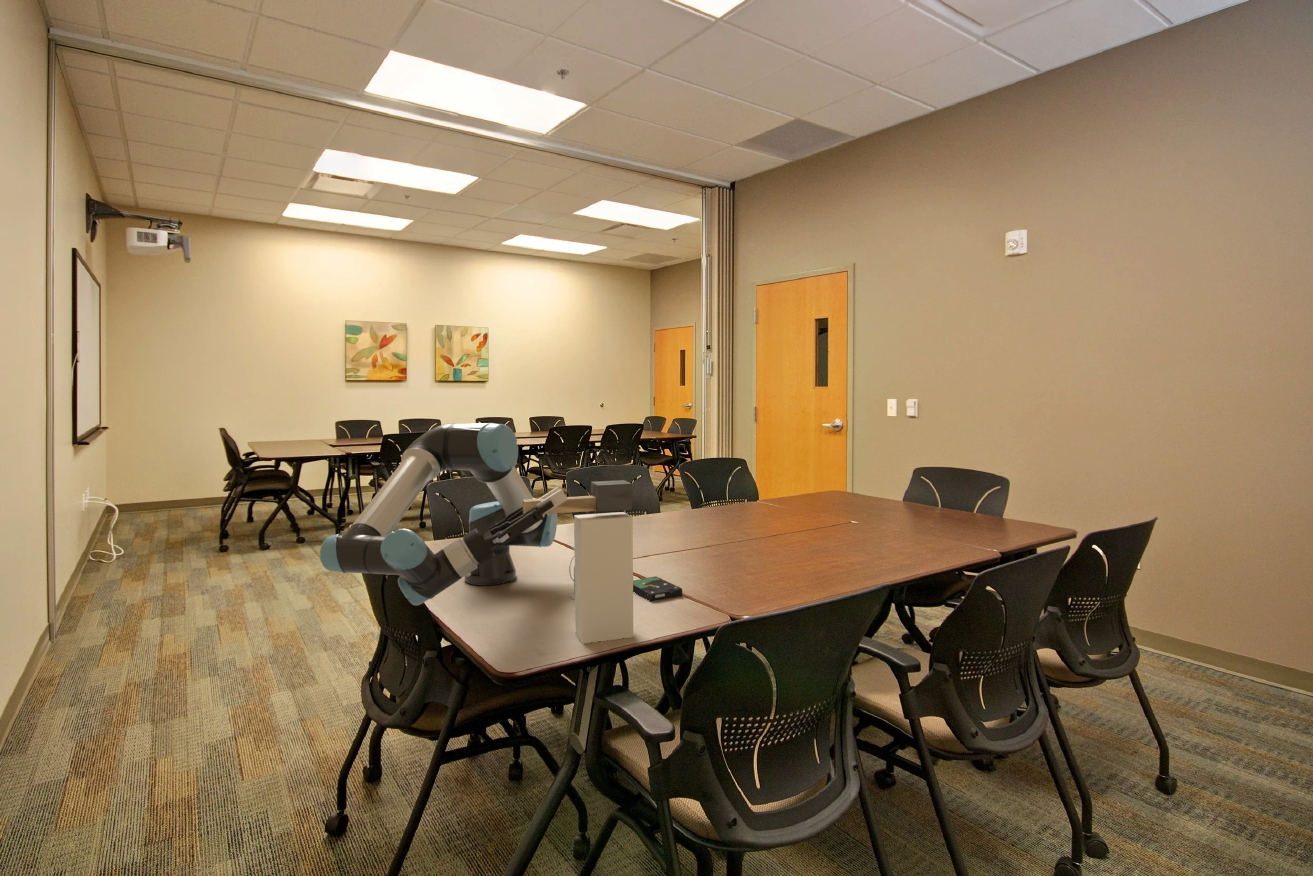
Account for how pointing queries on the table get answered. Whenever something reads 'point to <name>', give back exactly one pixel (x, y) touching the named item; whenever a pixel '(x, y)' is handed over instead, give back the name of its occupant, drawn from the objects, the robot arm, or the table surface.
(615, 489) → the mallet
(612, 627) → the stand
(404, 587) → the robot arm
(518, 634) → the table surface
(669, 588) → the disk drive
